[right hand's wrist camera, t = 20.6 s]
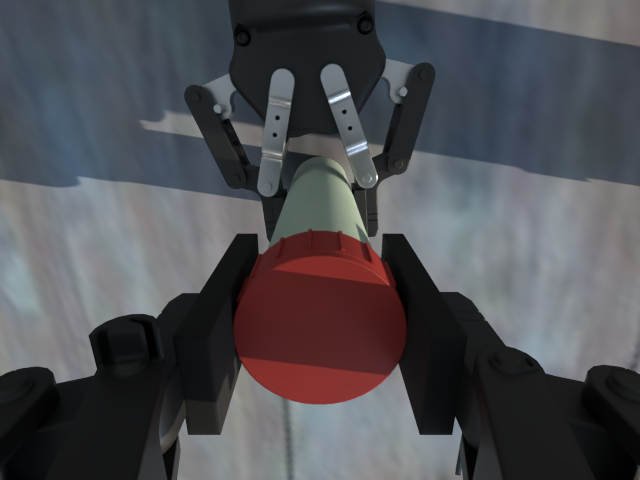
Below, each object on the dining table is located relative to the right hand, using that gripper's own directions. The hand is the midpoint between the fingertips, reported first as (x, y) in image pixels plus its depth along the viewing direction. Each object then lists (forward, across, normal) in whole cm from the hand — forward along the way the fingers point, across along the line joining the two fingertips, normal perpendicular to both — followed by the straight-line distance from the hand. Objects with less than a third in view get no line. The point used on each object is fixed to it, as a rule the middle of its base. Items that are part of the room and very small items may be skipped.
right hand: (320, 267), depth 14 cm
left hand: (+10, 0, -3) cm, 10 cm away
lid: (-4, 0, 0) cm, 4 cm away
